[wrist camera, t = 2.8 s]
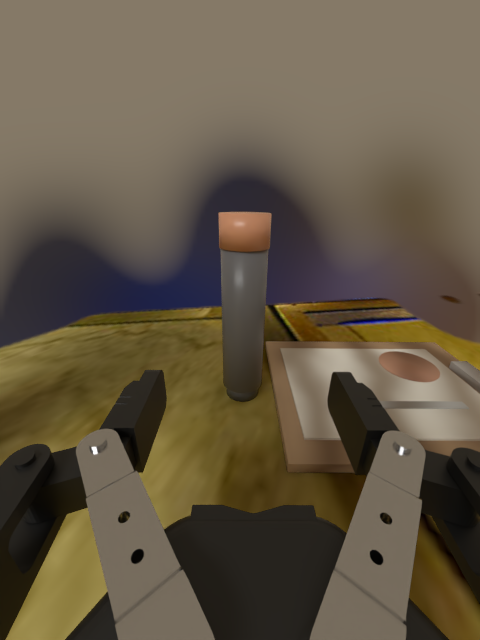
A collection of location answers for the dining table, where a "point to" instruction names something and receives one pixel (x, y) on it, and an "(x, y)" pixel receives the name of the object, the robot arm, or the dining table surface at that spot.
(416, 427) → the clipboard
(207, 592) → the robot arm
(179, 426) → the dining table surface
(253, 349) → the marker
